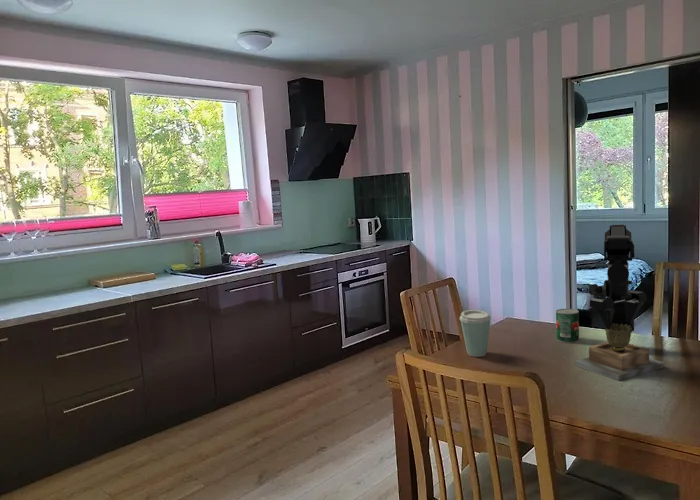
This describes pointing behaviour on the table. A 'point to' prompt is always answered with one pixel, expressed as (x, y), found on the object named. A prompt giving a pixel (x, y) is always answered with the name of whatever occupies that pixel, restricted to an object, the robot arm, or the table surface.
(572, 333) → the canned tomato
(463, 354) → the table surface
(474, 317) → the disposable coffee cup
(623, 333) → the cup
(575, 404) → the table surface
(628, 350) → the wooden square tray
